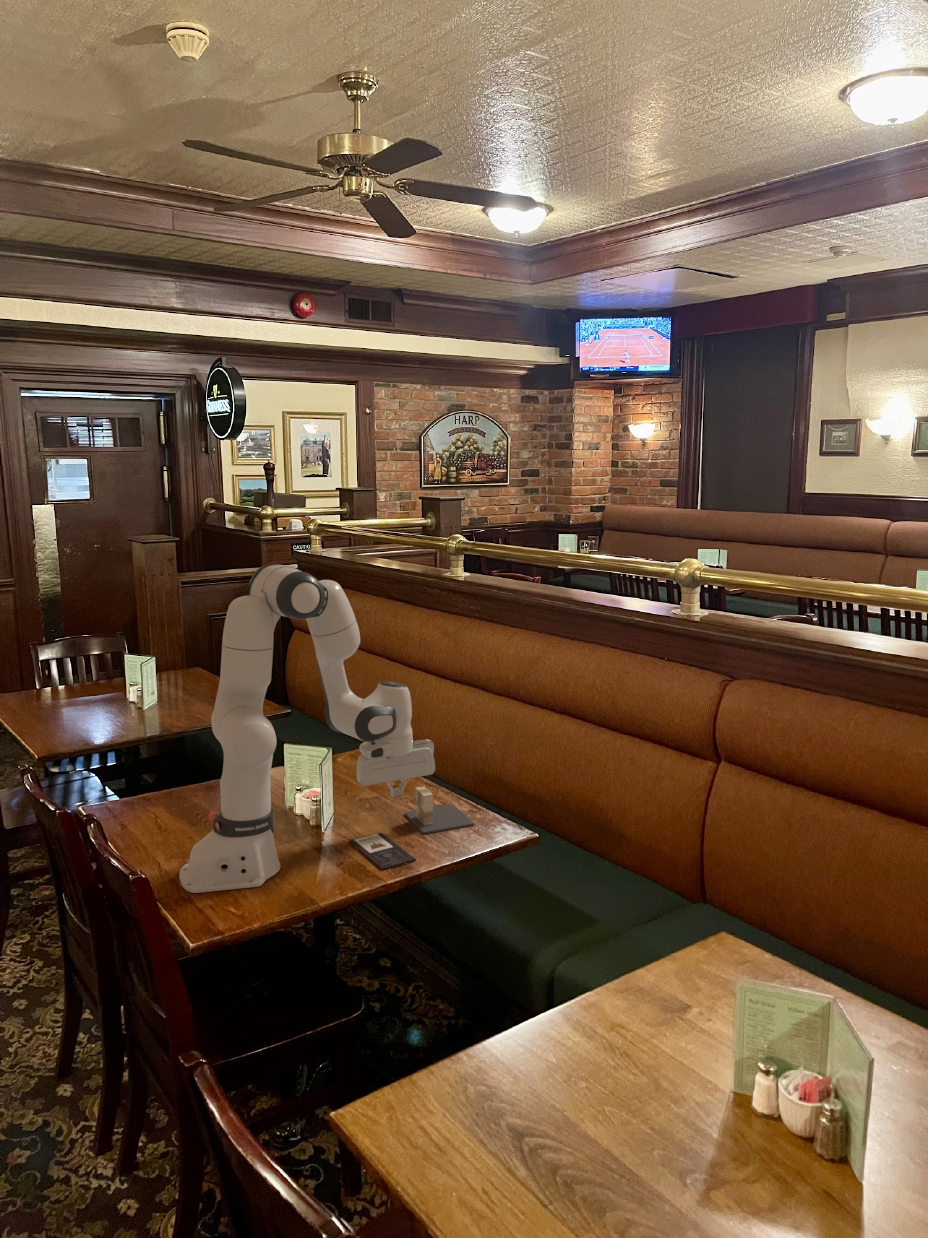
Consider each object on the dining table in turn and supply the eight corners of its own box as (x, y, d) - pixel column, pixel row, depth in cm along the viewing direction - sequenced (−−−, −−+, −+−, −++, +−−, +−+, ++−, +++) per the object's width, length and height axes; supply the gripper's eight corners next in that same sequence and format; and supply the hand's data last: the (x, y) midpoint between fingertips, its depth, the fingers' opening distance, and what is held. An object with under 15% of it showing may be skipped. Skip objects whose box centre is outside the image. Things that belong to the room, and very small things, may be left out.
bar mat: (423, 834, 231) (423, 832, 230) (404, 814, 243) (404, 812, 243) (474, 825, 236) (474, 823, 236) (453, 806, 249) (453, 804, 249)
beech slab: (433, 823, 236) (432, 794, 234) (424, 825, 235) (423, 795, 233) (424, 815, 241) (424, 786, 240) (415, 816, 240) (415, 788, 239)
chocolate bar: (382, 868, 211) (348, 840, 226) (382, 872, 211) (348, 844, 226) (416, 859, 215) (381, 832, 230) (416, 863, 216) (381, 836, 231)
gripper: (429, 734, 238) (430, 784, 240) (353, 746, 230) (355, 798, 232) (438, 741, 232) (439, 793, 235) (360, 753, 224) (363, 807, 227)
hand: (397, 795), depth 233 cm, fingers closed
